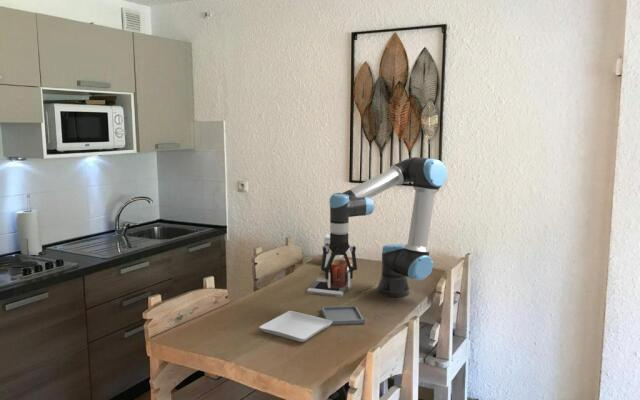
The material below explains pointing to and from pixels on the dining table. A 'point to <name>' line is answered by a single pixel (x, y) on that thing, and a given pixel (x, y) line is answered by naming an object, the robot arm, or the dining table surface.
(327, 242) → the supplement box
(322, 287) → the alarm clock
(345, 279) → the mug
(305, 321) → the salad plate
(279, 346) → the dining table surface
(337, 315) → the rest tray
